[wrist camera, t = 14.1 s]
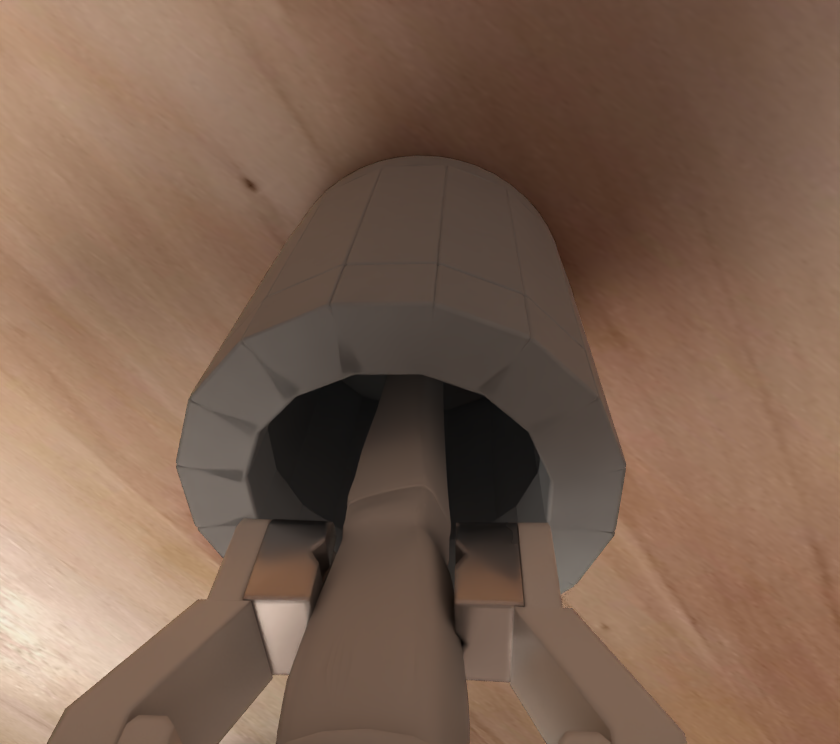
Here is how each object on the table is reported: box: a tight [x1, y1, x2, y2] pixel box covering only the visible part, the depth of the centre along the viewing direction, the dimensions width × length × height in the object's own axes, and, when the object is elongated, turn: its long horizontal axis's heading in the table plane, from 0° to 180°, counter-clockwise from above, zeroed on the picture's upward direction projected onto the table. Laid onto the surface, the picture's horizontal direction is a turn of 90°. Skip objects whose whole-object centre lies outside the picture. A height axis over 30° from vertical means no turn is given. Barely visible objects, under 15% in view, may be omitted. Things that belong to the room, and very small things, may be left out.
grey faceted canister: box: [176, 156, 626, 594], centre depth 15 cm, size 8×8×8 cm
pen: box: [276, 374, 470, 744], centre depth 12 cm, size 2×3×14 cm
